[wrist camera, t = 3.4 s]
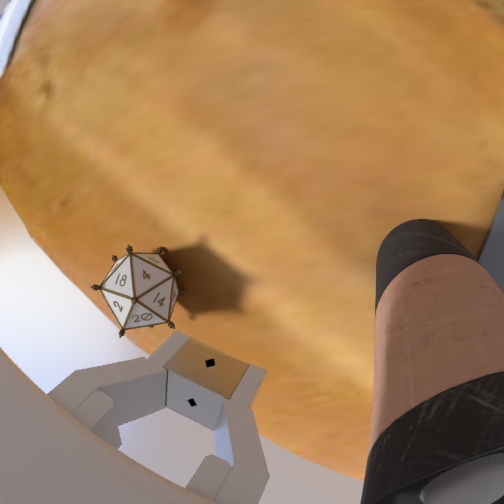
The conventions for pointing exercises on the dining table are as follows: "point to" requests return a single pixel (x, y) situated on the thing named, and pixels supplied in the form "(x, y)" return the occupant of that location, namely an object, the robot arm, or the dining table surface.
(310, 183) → the dining table surface
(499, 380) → the travel mug
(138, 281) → the game die
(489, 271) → the tray
